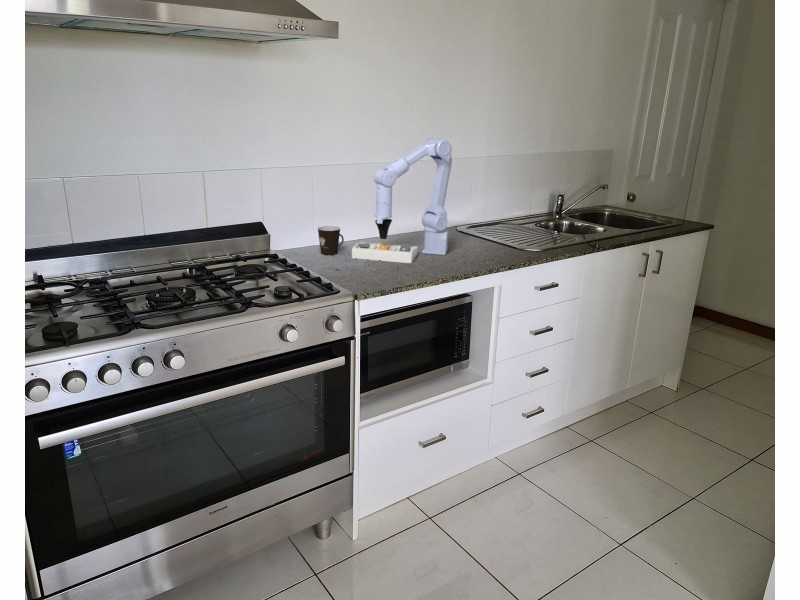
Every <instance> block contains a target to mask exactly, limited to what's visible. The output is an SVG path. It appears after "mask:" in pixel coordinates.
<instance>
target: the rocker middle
mask: <svg viewBox="0 0 800 600" xmlns="http://www.w3.org/2000/svg"><path fill="white" fill-rule="evenodd" d="M380 244H381V245H380V246H379V247H378V249H379V250H388V248H389V247H390V243H387V242H386V243H385V242H381V243H380Z"/></svg>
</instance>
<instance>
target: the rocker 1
mask: <svg viewBox="0 0 800 600" xmlns="http://www.w3.org/2000/svg"><path fill="white" fill-rule="evenodd" d="M359 243H360V244H358V247H360V248H368V247H370V244H364V243H361V242H359Z"/></svg>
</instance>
